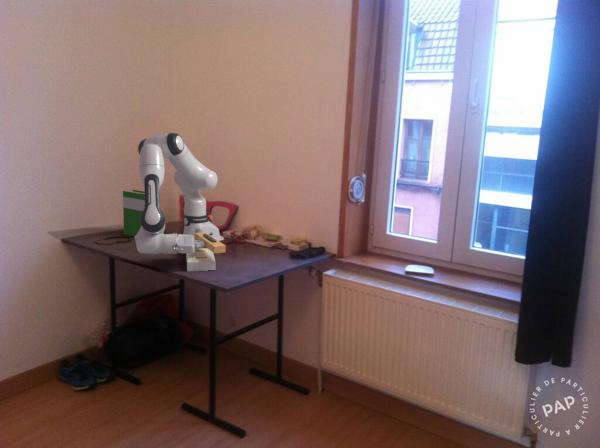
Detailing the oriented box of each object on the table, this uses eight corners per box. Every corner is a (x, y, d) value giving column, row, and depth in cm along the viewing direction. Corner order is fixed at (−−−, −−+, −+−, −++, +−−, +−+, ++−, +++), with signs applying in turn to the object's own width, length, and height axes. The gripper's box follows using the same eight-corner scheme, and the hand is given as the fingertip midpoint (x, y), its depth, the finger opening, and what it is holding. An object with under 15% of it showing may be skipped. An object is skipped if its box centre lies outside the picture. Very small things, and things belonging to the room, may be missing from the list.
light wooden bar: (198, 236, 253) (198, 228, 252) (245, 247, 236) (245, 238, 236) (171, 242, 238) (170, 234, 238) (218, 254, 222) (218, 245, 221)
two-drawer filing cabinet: (185, 254, 252) (185, 237, 251) (211, 253, 255) (211, 237, 254) (187, 271, 225) (187, 253, 223) (215, 270, 228) (215, 252, 226)
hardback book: (123, 234, 287) (122, 191, 283) (134, 232, 294) (133, 189, 289) (146, 239, 278) (145, 194, 274) (156, 237, 285) (156, 193, 280)
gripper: (172, 242, 220) (205, 242, 223) (173, 232, 239) (203, 232, 242) (172, 257, 221) (205, 256, 224) (173, 245, 241) (203, 245, 244)
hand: (204, 243), depth 233 cm, fingers closed
